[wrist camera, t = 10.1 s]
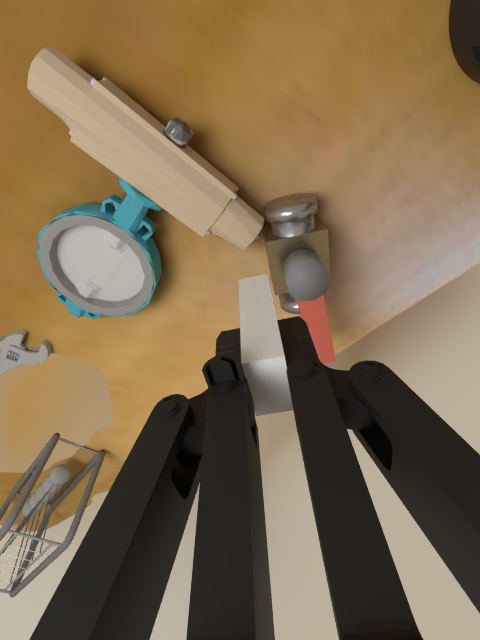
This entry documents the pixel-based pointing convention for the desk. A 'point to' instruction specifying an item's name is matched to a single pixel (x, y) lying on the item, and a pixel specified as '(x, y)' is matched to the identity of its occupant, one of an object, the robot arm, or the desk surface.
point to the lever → (311, 297)
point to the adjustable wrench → (20, 351)
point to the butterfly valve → (143, 193)
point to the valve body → (293, 239)
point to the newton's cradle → (39, 501)
